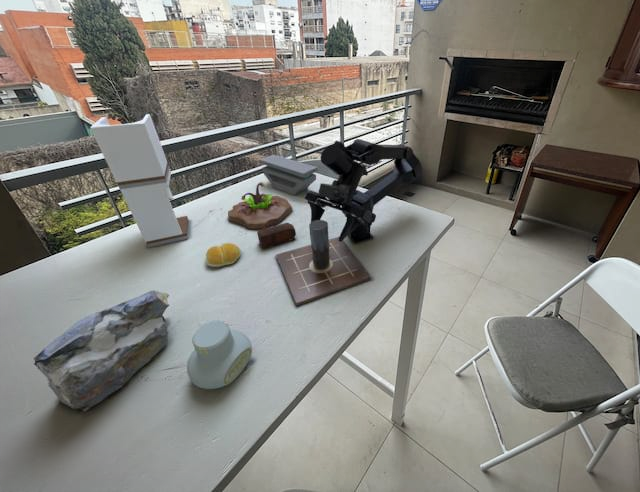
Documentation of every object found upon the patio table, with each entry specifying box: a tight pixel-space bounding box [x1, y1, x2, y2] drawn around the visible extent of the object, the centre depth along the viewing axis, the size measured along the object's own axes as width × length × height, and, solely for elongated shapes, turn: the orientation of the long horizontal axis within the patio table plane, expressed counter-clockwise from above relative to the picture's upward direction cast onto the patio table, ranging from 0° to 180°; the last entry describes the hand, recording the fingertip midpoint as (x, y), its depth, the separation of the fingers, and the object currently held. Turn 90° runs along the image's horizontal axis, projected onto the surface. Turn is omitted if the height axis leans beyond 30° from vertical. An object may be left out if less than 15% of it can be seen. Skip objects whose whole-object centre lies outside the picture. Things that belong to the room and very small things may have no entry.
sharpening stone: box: [258, 154, 319, 196], centre depth 117 cm, size 25×8×11 cm, turn 56°
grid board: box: [275, 236, 371, 307], centre depth 78 cm, size 20×20×1 cm
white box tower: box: [89, 113, 190, 248], centre depth 81 cm, size 11×11×35 cm
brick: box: [256, 222, 297, 249], centre depth 87 cm, size 11×4×5 cm, turn 123°
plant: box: [227, 181, 293, 230], centre depth 99 cm, size 20×20×11 cm
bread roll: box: [205, 242, 242, 268], centre depth 80 cm, size 8×9×4 cm
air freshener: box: [186, 319, 253, 390], centre depth 51 cm, size 11×8×10 cm
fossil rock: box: [33, 290, 170, 413], centre depth 52 cm, size 20×10×15 cm, turn 153°
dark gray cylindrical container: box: [308, 219, 330, 270], centre depth 74 cm, size 5×5×13 cm
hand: (325, 235), depth 75 cm, fingers open, 9 cm apart
